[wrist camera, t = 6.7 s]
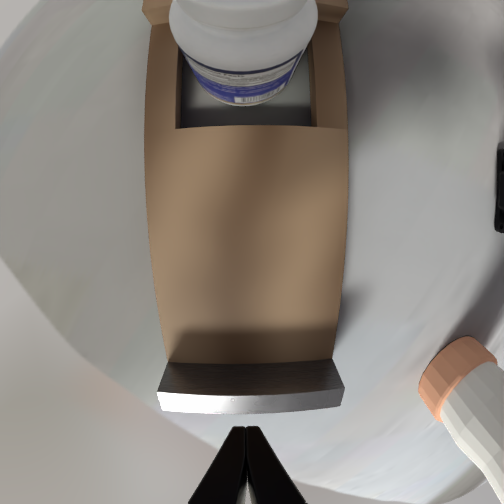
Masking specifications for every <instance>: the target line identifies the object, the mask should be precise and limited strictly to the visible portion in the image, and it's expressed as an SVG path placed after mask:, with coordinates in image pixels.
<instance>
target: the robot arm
mask: <svg viewBox="0 0 504 504" xmlns="http://www.w3.org/2000/svg"><path fill="white" fill-rule="evenodd" d="M495 230H496V231H497V232H500V233H504V149H499V150H498V193H497V209H496V220H495ZM247 478H248V487H249V493H250V498H251V503H252V504H308V503H305V502H306V501H305V500H304V498H303V496H302V495H301V493H300V492H299V490H298V489H297V487H296V486H295V484H294V483H293V481H292V480H291V478H290V477H289V475H288V474H287V472H286V470H285V469H284V467H283V466H282V464H281V462H280V461H279V459H278V458H277V456H276V454H275V453H274V451H273V449H272V448H271V446H270V444H269V443H268V441H267V439H266V438H265V436H264V434H263V433H262V431H261V429H260V428H259V427H258V426H248V427H246V428H245V427H243V426H234V427H232V429H231V430H230V432H229V434H228V436H227V438H226V439H225V441H224V443H223V445H222V446H221V448H220V450H219V452H218V453H217V455H216V457H215V459H214V460H213V462H212V464H211V466H210V467H209V469H208V471H207V472H206V474H205V476H204V477H203V479H202V481H201V482H200V484H199V486H198V487H197V489H196V490H195V492H194V493H193V495H192V497H191V498H190V500H189V502H188V504H245V497H246V490H247Z"/></svg>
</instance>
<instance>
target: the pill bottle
mask: <svg viewBox="0 0 504 504" xmlns="http://www.w3.org/2000/svg"><path fill="white" fill-rule="evenodd" d="M317 20H318V10H317V5H316V2H315V0H173V1H172V4H171V8H170V12H169V24H170V29H171V32H172V34H173V36H174V39H175V41H176V43H177V44H178V46H179V48H180V50H181V51H182V53H183V55H184V56H185V58H186V60H187V62H188V63H189V65H190V67H191V69H192V71H193V73H194V74H195V76H196V78H197V80H198V82H199V83H200V85H201V86H202V88H203V89H204V90H205V91H206V92H207V93H208V94H209V95H211V96H212V97H213V98H215V99H217V100H219V101H221V102H223V103H226V104H230V105H235V106H251V105H257V104H261V103H264V102H266V101H268V100H270V99H272V98H274V97H275V96H277V95H278V94H279V93H280V92H281V91H282V90H283V89H284V88H285V87H286V86H287V85H288V83H289V81H290V79H291V77H292V75H293V73H294V71H295V68H296V66H297V64H298V62H299V60H300V58H301V56H302V54H303V52H304V51H305V49H306V47H307V45H308V43H309V41H310V39H311V37H312V35H313V33H314V31H315V29H316V25H317Z"/></svg>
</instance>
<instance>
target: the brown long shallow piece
mask: <svg viewBox="0 0 504 504" xmlns="http://www.w3.org/2000/svg"><path fill="white" fill-rule="evenodd" d="M172 1H173V0H144V1H143V6H142V12H143V13H144V15H145V16H146V18H147V19H148V21H149V22H150V24H151V25H152V28H151V36H150V44H149V54H148V65H147V78H146V94H145V124H144V158H145V189H146V207H147V221H148V233H149V244H150V253H151V262H152V270H153V278H154V286H155V293H156V299H157V306H158V312H159V318H160V324H161V329H162V335H163V340H164V345H165V350H166V355H167V360H168V363H167V366H166V369H165V371H164V374H163V377H162V379H161V382H160V385H159V388H158V391H157V394H158V397H159V400H160V404H161V407H162V410H167V411H178V412H191V413H211V414H260V413H280V412H294V411H305V410H314V409H323V408H330V407H337V406H340V405H341V401H342V397H343V393H344V389H345V387H344V385H343V382H342V380H341V378H340V375H339V373H338V371H337V369H336V366H335V364H334V362H333V359H332V356H333V350H334V344H335V337H336V331H337V324H338V316H339V308H340V300H341V291H342V282H343V272H344V260H345V248H346V232H347V213H348V172H349V158H348V118H347V99H346V85H345V73H344V63H343V54H342V45H341V37H340V30H339V22H340V20H341V19H342V17H343V16H344V15H345V13H346V12H347V10H348V9H349V7H348V2H347V0H315V2H316V5H317V10H318V20H317V25H316V29H315V31H314V33H313V35H312V37H311V39H310V41H309V43H308V45H307V50H308V64H309V80H310V100H311V127H308V126H285V125H233V126H210V127H194V128H182V129H181V85H182V62H183V53H182V51H181V50H180V48H179V46H178V44H177V43H176V41H175V39H174V36H173V34H172V32H171V29H170V24H169V12H170V8H171V4H172Z"/></svg>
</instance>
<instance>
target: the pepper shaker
mask: <svg viewBox="0 0 504 504" xmlns="http://www.w3.org/2000/svg"><path fill="white" fill-rule="evenodd" d="M418 392H419V394H420V396H421V398H422V400H423V401H424V403H425V404H426V405H427V407H428V408H429V410H430V411H431V413H432V414H433V416H434V418H435V419H436V420H438V421H440V422H443V423H444V424H445V426H446V428H447V429H448V431H449V433H450V434H451V436H452V438H453V439H454V441H455V443H456V444H457V446H458V447H459V448H460V449H461V450H462V451H463V452H464V453H465V454H466V455H467V456H468V457H469V458H470V459H471V460H472V461H473V462H474V463H475V464H476V465H477V466H478V467H479V468H480V470H481V471H482V472H483V473H484V475H485V476H486V478H487V480H488V481H489V483H490V485H491V486H492V488H493V490H494V491H495V493H496V495H497V497H498V498H499V500H500V502H501V504H504V371H503V370H502V369H501V368H500V367H498V366H497V359H496V358H495V357H494V355H492V354H491V353H490V352H489V351H488V350H487V349H486V348H485V347H484V346H482V345H481V344H480V343H479V342H478V341H477V340H476V339H475V338H473V337H469V336H466V337H462V338H459V339H457V340H455V341H453V342H452V343H450V344H449V345H447V346H446V347H445V348H444V349H443V350H442V351H440V352H439V353H438V355H437V356H436V357H435V358H434V359H433V360H432V361H431V363H430V364H429V365H428V367H427V369H426V370H425V372H424V373H423V375H422V378H421V380H420V383H419V391H418Z"/></svg>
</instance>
